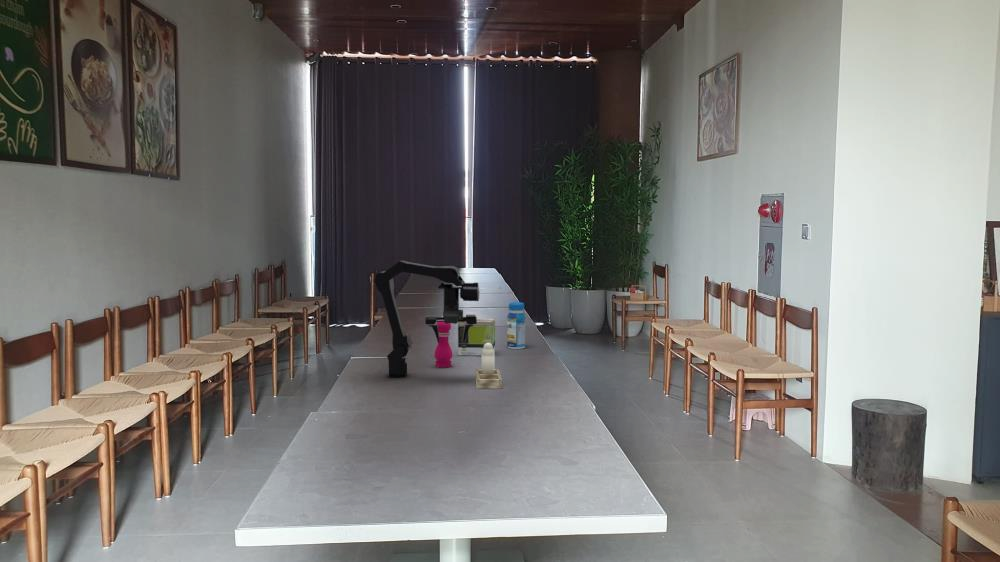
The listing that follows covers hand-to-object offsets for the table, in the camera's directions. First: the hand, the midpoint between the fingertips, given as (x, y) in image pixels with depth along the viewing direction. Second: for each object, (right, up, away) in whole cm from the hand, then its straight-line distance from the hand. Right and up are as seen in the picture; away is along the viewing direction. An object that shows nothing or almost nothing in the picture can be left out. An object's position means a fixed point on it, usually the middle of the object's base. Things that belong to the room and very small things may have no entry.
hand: (451, 342), depth 278 cm
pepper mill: (-4, -11, +20) cm, 23 cm away
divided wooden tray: (+14, -14, -7) cm, 21 cm away
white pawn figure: (+14, -13, -3) cm, 19 cm away
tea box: (+8, -9, +44) cm, 45 cm away
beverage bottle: (+25, -7, +58) cm, 64 cm away
